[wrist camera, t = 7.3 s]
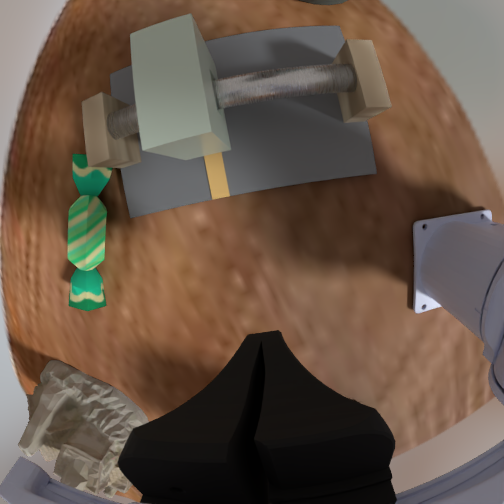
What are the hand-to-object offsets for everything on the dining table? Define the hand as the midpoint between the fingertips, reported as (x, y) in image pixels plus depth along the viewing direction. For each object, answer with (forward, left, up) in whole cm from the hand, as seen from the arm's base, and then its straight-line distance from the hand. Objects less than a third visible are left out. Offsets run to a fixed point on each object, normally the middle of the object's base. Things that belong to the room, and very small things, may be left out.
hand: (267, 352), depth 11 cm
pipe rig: (0, -12, -10) cm, 16 cm away
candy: (+13, -6, -11) cm, 18 cm away
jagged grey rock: (+24, +16, -11) cm, 31 cm away
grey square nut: (+2, -12, -8) cm, 15 cm away
